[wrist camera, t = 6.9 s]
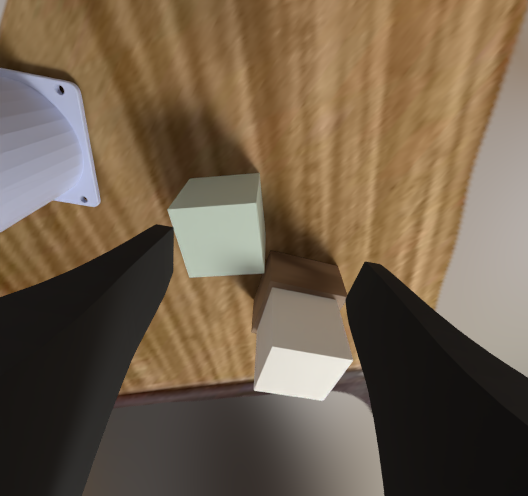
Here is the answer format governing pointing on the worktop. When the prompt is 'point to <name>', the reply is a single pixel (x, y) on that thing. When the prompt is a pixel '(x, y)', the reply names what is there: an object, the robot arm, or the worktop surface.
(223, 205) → the sage cube
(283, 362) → the cream cube
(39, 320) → the robot arm
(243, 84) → the worktop surface
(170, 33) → the worktop surface
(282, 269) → the walnut block
